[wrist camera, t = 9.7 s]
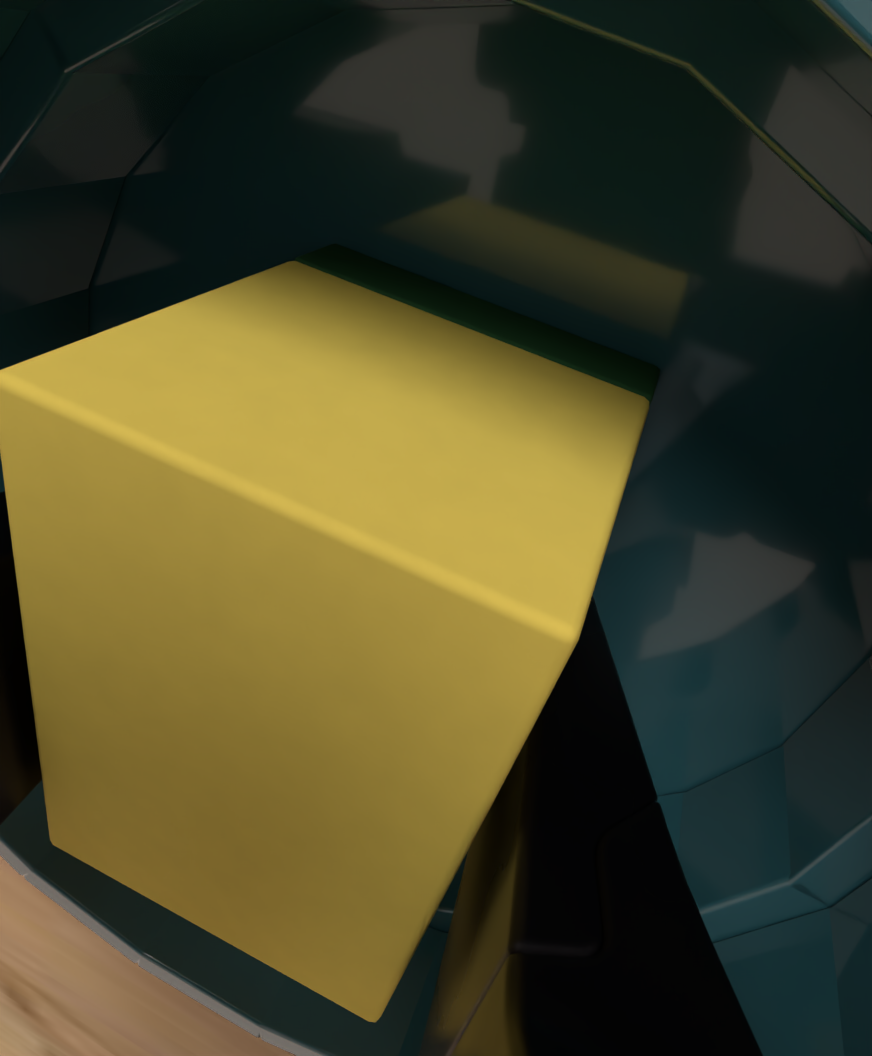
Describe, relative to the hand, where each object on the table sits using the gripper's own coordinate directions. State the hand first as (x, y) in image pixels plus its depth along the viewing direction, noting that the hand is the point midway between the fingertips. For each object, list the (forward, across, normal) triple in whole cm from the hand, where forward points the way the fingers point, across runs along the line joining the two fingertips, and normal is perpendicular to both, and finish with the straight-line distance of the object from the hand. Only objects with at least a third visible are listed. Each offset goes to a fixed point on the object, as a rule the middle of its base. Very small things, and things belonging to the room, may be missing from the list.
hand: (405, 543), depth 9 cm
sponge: (+1, 0, 0) cm, 1 cm away
